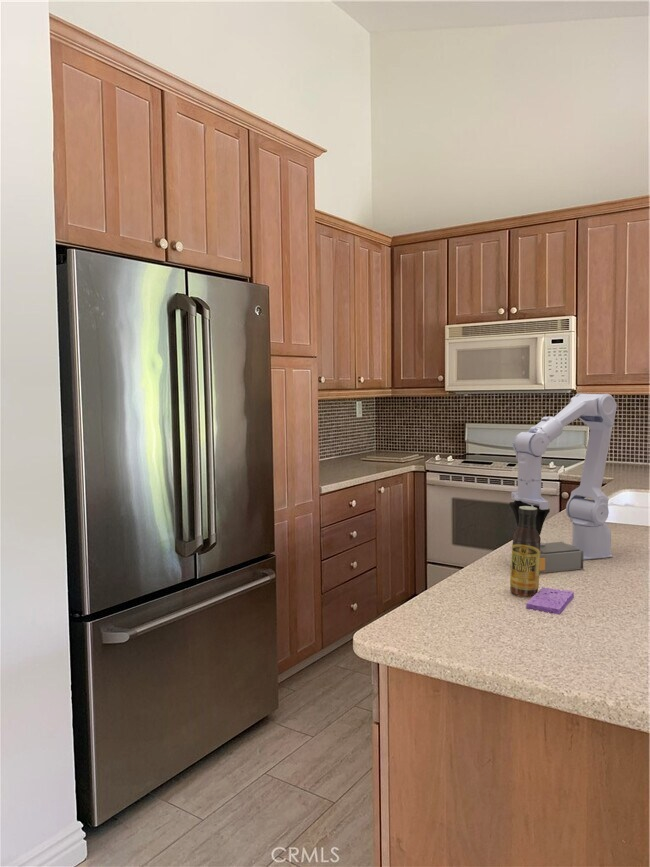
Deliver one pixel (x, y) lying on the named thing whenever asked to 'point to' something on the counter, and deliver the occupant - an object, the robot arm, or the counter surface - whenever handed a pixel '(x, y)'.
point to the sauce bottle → (525, 554)
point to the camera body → (556, 548)
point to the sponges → (550, 600)
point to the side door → (561, 561)
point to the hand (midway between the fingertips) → (528, 532)
